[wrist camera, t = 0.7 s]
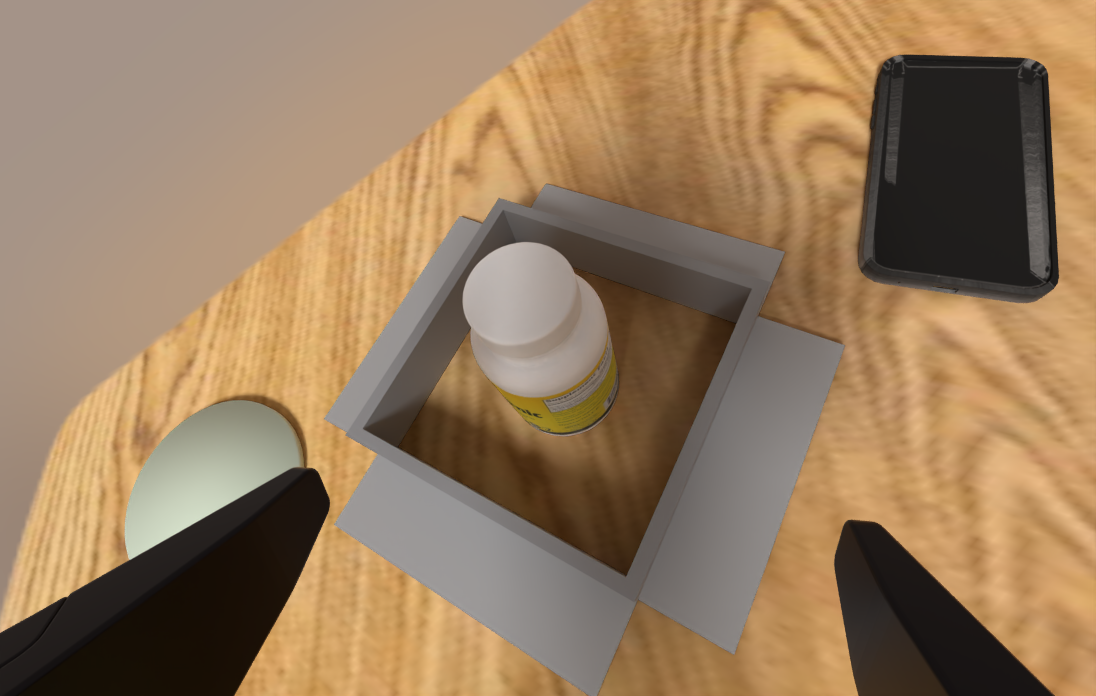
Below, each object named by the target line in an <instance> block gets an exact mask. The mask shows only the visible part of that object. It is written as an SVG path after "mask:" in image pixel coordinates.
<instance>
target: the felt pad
mask: <svg viewBox="0 0 1096 696" xmlns="http://www.w3.org/2000/svg"><path fill="white" fill-rule="evenodd" d="M293 467H304V457H303V450H302V447H301V443H300V440H299V438H298V436H297V433H296V431H295V430H294V428H293V427H292V425H291V424H290V422H289V421H288V420H287V419H286V418H285V417H284V416H283V415H281V414H280V413H278V412H277V411H276V410H274V409H271V408H269V407H267V406H265V405H263V404H260V403H257V402H253V401H246V400H233V401H227V402H222V403H218V404H215V405H212V406H209V407H207V408H205V409H203V410H201V411H199V412H197V413H195V414H193V415H192V416H190V417H189V418H187V419H186V420H184V421H183V422H182V423H180V424H179V425H178V426H177V427H176V428H174V429H173V430H172V431H171V432H170V433H169V434H168V435H167V436H166V437H165V438H164V439H163V440H162V441H161V443H160V444H159V445H158V446H157V447H156V449H155V450H154V451H153V453H152V454H151V455H150V457H149V458H148V460H147V461H146V463H145V465H144V466H143V468H142V470H141V472H140V474H139V476H138V478H137V480H136V482H135V484H134V487H133V490H132V493H131V496H130V499H129V503H128V507H127V512H126V519H125V542H126V549H127V553H128V557H129V559H130V560H131V559H132V558H134V557H136V556H138V555H139V554H141V553H143V552H145V551H146V550H148V549H150V548H152V547H153V546H155V545H157V544H159V543H160V542H162V541H164V540H166V539H167V538H169V537H171V536H173V535H174V534H176V533H178V532H180V531H182V530H183V529H185V528H187V527H189V526H190V525H192V524H194V523H196V522H197V521H199V520H201V519H203V518H204V517H206V516H208V515H210V514H211V513H213V512H215V511H217V510H218V509H220V508H222V507H224V506H226V505H227V504H229V503H231V502H233V501H234V500H236V499H238V498H240V497H241V496H243V495H245V494H247V493H248V492H250V491H252V490H254V489H255V488H257V487H259V486H261V485H262V484H264V483H266V482H268V481H269V480H271V479H273V478H275V477H277V476H278V475H280V474H282V473H284V472H285V471H287V470H289V469H291V468H293Z"/></svg>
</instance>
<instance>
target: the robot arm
mask: <svg viewBox="0 0 1096 696" xmlns="http://www.w3.org/2000/svg"><path fill="white" fill-rule="evenodd" d="M329 507H330V499H329V496H328V494H327V492H326V489H325V487H324V484H323V482H322V480H321V477H320V475H319V473H318V472H317V471H316V470H315V469H313V468H305V467H293V468H291V469H289V470H287V471H285V472H284V473H282V474H280V475H278V476H277V477H275V478H273V479H271V480H269V481H268V482H266V483H264V484H262V485H261V486H259V487H257V488H255V489H254V490H252V491H250V492H248V493H247V494H245V495H243V496H241V497H240V498H238V499H236V500H234V501H233V502H231V503H229V504H227V505H226V506H224V507H222V508H220V509H218V510H217V511H215V512H213V513H211V514H210V515H208V516H206V517H204V518H203V519H201V520H199V521H197V522H196V523H194V524H192V525H190V526H189V527H187V528H185V529H183V530H182V531H180V532H178V533H176V534H174V535H173V536H171V537H169V538H167V539H166V540H164V541H162V542H160V543H159V544H157V545H155V546H153V547H152V548H150V549H148V550H146V551H145V552H143V553H141V554H139V555H138V556H136V557H134V558H132V559H131V560H129V561H127V562H125V563H123V564H122V565H120V566H118V567H116V568H115V569H113V570H111V571H109V572H108V573H106V574H104V575H102V576H101V577H99V578H97V579H95V580H94V581H92V582H90V583H88V584H87V585H85V586H83V587H81V588H79V589H78V590H76V591H74V592H72V593H71V594H70V595H69V596H68V597H64V598H62V599H60V600H58V601H56V602H55V603H53V604H51V605H49V606H48V607H46V608H44V609H42V610H41V611H39V612H37V613H35V614H34V615H32V616H30V617H28V618H26V619H25V620H23V621H21V622H19V623H17V624H16V625H14V626H12V627H10V628H8V629H7V630H5V631H3V632H1V633H0V696H234V695H235V694H236V692H237V690H238V688H239V686H240V685H241V683H242V681H243V679H244V677H245V676H246V674H247V672H248V670H249V669H250V667H251V665H252V663H253V661H254V660H255V658H256V656H257V654H258V652H259V651H260V649H261V647H262V645H263V644H264V642H265V640H266V638H267V636H268V635H269V633H270V631H271V629H272V627H273V626H274V624H275V622H276V620H277V619H278V617H279V615H280V613H281V611H282V610H283V608H284V606H285V604H286V602H287V601H288V599H289V597H290V595H291V593H292V591H293V589H294V587H295V585H296V583H297V581H298V579H299V577H300V575H301V572H302V570H303V568H304V566H305V563H306V561H307V559H308V557H309V554H310V552H311V550H312V548H313V545H314V543H315V541H316V539H317V537H318V534H319V532H320V530H321V528H322V525H323V523H324V521H325V519H326V516H327V514H328V511H329ZM834 566H835V574H836V580H837V586H838V592H839V597H840V603H841V609H842V615H843V620H844V626H845V632H846V637H847V643H848V649H849V655H850V660H851V665H852V670H853V676H854V680H855V684H856V687H857V691H858V695H859V696H1055V695H1054V694H1053V693H1052V692H1051V691H1050V690H1049V689H1047V688H1046V687H1045V686H1044V685H1043V684H1042V683H1041V682H1040V681H1039V680H1038V679H1037V678H1036V677H1035V676H1034V675H1033V674H1032V673H1031V672H1030V671H1029V670H1028V669H1027V668H1026V667H1025V666H1024V665H1023V664H1022V663H1021V662H1020V661H1019V660H1018V659H1017V658H1016V657H1015V656H1014V655H1013V654H1012V653H1011V652H1010V651H1009V650H1008V649H1007V648H1006V647H1005V646H1004V645H1003V644H1002V643H1001V642H1000V641H999V640H998V639H997V638H996V637H995V636H994V635H993V634H992V633H990V632H989V631H988V630H987V629H986V628H985V627H984V626H983V625H982V624H981V623H980V622H979V621H978V620H977V619H976V618H975V617H974V616H973V615H972V614H971V613H970V612H969V611H968V610H967V609H966V608H965V607H964V606H963V605H962V604H961V603H960V602H959V601H958V600H957V599H956V598H955V597H954V596H953V595H952V594H951V593H950V592H949V591H948V590H947V589H946V588H945V587H944V586H943V585H942V584H941V583H940V582H939V581H938V580H937V579H936V578H935V577H933V576H932V575H931V574H930V573H929V572H928V571H927V570H926V569H925V568H924V567H923V566H922V565H921V564H920V563H919V562H918V561H917V560H916V559H915V558H914V557H913V556H912V555H911V554H910V553H909V552H908V551H907V550H906V549H905V548H904V547H903V546H902V545H901V544H900V543H899V542H898V541H897V540H896V539H895V538H894V537H893V536H892V535H891V534H890V533H889V532H888V531H887V530H886V529H885V528H884V527H882V526H881V525H880V524H878V523H876V522H871V521H860V520H848V521H846V522H845V524H844V526H843V529H842V533H841V536H840V540H839V543H838V546H837V550H836V553H835V560H834Z"/></svg>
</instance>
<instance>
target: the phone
mask: <svg viewBox="0 0 1096 696" xmlns="http://www.w3.org/2000/svg"><path fill="white" fill-rule="evenodd" d="M875 95H876V96H875V100H874V105H873V114H874V115H873V116H872V120H871V129H872V134H871V143H870V153H869V162H868V171H867V181H866V190H865V200H864V209H863V219H862V228H861V238H860V247H859V256H858V264H859V268H860V270H861V272H862V273H863V274H864V275H865V276H866V277H867V278H869V279H871V280H873V281H874V282H878V283H882V284H888V285H895V286H902V287H909V288H916V289H923V290H930V291H937V292H944V293H951V294H958V295H965V296H973V297H980V298H987V299H994V300H1001V301H1008V302H1015V303H1030V302H1034V301H1037V300H1038V299H1040V298H1042V297H1043V296H1045V295H1046V294H1047V293H1049V292H1050V291H1051V290H1053V289H1054V287H1055V286H1056V285H1057V283H1058V279H1059V270H1058V252H1057V233H1056V214H1055V196H1054V177H1053V159H1052V140H1051V122H1050V103H1049V84H1048V73H1047V69H1046V68H1045V67H1044V66H1043V65H1042V64H1040V63H1039V62H1037V61H1035V60H1031V59H1027V58H1011V57H975V56H939V55H898V56H894V57H892V58H890V59H888V60H887V61H886V62H885V63H884V65H883V67H882V69H881V72H880V74H879V76H878V79H877V86H876V89H875ZM898 282H901V283H898ZM933 286H941V287H948V288H955V289H956V290H951V289H944V288H937V287H933Z"/></svg>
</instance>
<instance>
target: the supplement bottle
mask: <svg viewBox="0 0 1096 696" xmlns="http://www.w3.org/2000/svg"><path fill="white" fill-rule="evenodd" d="M463 310H464V314H465V317H466V319H467V321H468V323H469V325H470V326H471V346H472V350H473V354H474V357H475V359H476V361H477V363H478V365H479V367H480V368H481V370H482V371H483V373H484V374H485V375H486V377H487V378H488V379H489V380H490V381H491V382H492V383H493V385H494V386H495V387H496V388H497V389H498V390H499V392H500V393H501V394H502V395H503V396H504V397H505V398H506V400H507V401H508V402H509V403H510V404H511V405H512V406H513V407H514V408H515V409H516V411H517V412H518V413H519V414H520V415H521V416H522V417H523V418H524V419H525V420H526V421H527V422H528V423H529V424H530V425H531V426H533V427H534V428H536V429H537V430H539V431H541V432H544V433H546V434H550V435H554V436H572V435H577V434H580V433H583V432H586V431H588V430H590V429H592V428H593V427H595V426H596V425H598V424H599V423H600V422H601V421H602V420H603V419H604V418H605V417H606V416H607V415H608V414H609V412H610V411H611V409H612V407H613V405H614V404H615V401H616V398H617V395H618V389H619V374H618V369H617V364H616V359H615V354H614V351H613V346H612V341H611V337H610V333H609V328H608V323H607V318H606V314H605V311H604V307H603V304H602V302H601V300H600V298H599V296H598V295H597V293H596V292H595V290H594V289H593V288H592V287H591V286H590V285H589V284H588V283H587V282H586V281H585V280H584V279H583V278H581V277H580V276H578V275H576V274H575V273H574V270H573V268H572V266H571V265H570V263H569V262H568V260H567V259H566V258H565V257H564V256H563V255H562V254H561V253H559V252H558V251H556V250H555V249H553V248H551V247H549V246H546V245H543V244H540V243H534V242H520V243H514V244H509V245H506V246H503V247H501V248H499V249H496V250H495V251H493V252H491V253H490V254H488V255H487V256H486V257H484V258H483V259H482V260H481V261H480V262H479V263H478V264H477V265H476V266H475V268H474V269H473V270H472V272H471V273H470V275H469V277H468V279H467V281H466V284H465V287H464V291H463Z"/></svg>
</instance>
